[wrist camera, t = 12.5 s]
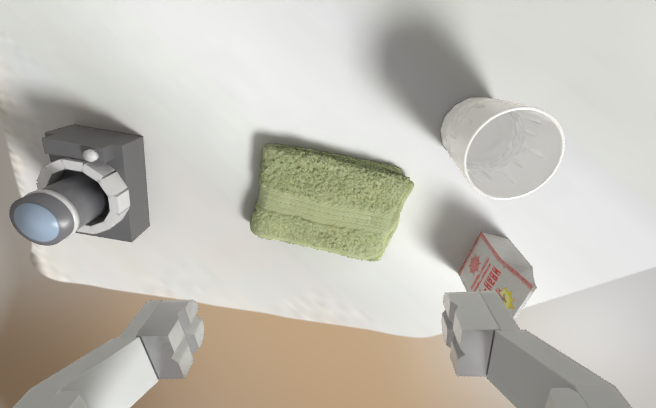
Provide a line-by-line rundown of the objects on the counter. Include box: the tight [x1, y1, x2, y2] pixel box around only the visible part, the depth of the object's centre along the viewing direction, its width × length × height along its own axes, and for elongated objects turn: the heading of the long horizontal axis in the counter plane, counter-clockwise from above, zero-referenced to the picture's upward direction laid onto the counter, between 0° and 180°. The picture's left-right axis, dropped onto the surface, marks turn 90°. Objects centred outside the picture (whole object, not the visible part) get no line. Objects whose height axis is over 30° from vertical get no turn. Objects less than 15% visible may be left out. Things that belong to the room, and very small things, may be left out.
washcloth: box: [250, 144, 414, 261], centre depth 40 cm, size 13×18×3 cm
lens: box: [10, 173, 109, 245], centre depth 34 cm, size 5×5×7 cm
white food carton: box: [459, 232, 537, 320], centre depth 39 cm, size 4×7×10 cm, turn 165°
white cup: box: [440, 97, 565, 200], centre depth 32 cm, size 8×8×10 cm
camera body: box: [36, 124, 150, 242], centre depth 38 cm, size 12×8×6 cm
